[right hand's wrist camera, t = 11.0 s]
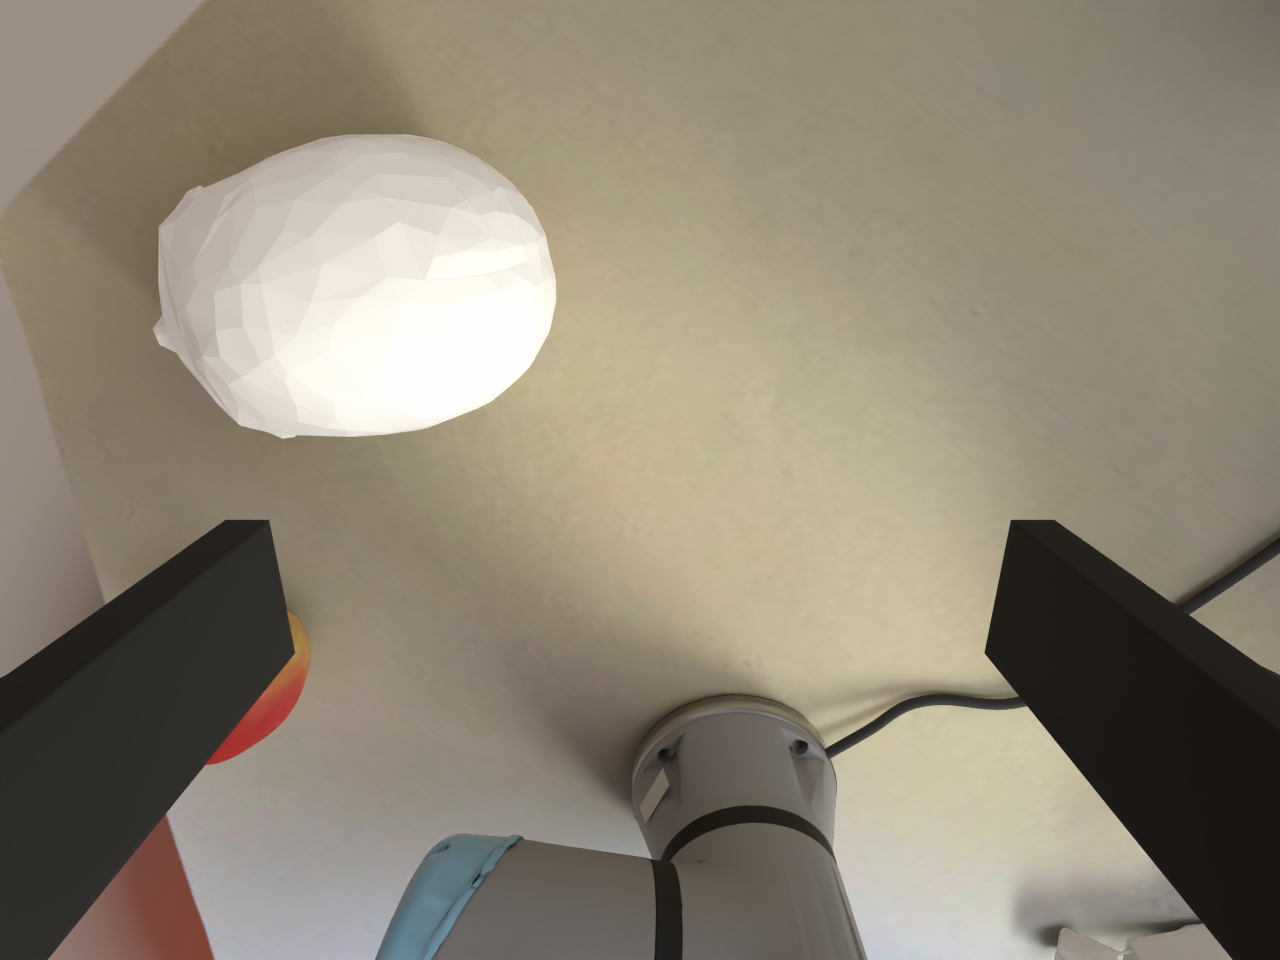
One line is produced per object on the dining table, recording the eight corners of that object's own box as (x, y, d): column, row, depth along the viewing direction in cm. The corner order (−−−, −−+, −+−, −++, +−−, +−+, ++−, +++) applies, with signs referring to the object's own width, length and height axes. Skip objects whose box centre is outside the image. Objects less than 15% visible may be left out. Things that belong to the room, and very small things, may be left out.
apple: (340, 688, 51) (271, 793, 41) (207, 680, 50) (108, 784, 41) (329, 570, 47) (252, 655, 38) (187, 561, 47) (75, 644, 38)
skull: (157, 222, 40) (-124, 235, 25) (523, 112, 38) (454, 56, 23) (263, 437, 44) (80, 554, 30) (592, 349, 43) (571, 427, 28)
